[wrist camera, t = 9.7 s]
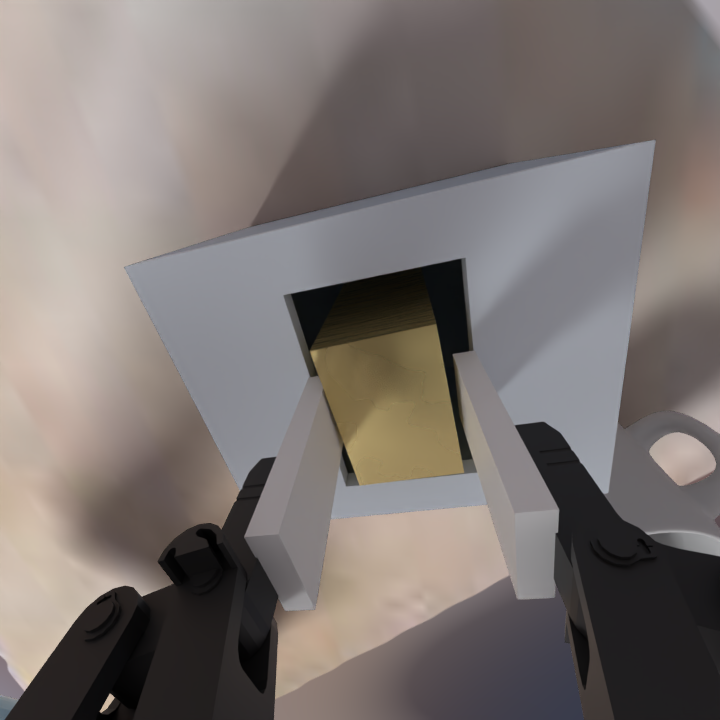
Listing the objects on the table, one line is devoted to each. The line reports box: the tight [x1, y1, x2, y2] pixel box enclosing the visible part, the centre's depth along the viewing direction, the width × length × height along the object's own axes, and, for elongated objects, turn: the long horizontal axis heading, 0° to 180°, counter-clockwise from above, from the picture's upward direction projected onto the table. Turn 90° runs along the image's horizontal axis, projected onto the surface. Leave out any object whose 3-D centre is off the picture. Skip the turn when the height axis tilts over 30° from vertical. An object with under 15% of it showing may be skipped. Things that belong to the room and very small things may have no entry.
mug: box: [604, 411, 720, 556], centre depth 23 cm, size 12×8×11 cm
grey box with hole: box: [124, 140, 656, 519], centre depth 18 cm, size 16×13×12 cm
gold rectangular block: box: [310, 267, 464, 486], centre depth 15 cm, size 4×6×8 cm, turn 16°
